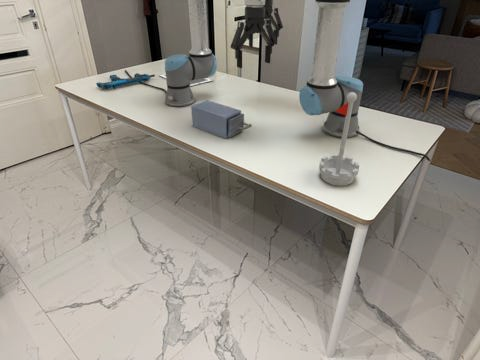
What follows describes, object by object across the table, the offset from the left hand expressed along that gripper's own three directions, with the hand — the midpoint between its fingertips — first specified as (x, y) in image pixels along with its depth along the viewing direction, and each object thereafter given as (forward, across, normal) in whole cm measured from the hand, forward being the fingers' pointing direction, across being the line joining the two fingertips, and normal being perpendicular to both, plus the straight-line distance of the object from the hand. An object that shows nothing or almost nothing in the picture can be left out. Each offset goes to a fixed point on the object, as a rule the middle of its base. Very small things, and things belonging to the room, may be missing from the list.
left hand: (253, 65), depth 136 cm
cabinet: (+28, -13, +9) cm, 32 cm away
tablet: (+28, +7, +86) cm, 91 cm away
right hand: (0, +25, +28) cm, 37 cm away
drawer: (+27, -12, +4) cm, 30 cm away
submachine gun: (+28, -28, +100) cm, 107 cm away
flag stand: (+28, +2, -49) cm, 56 cm away
